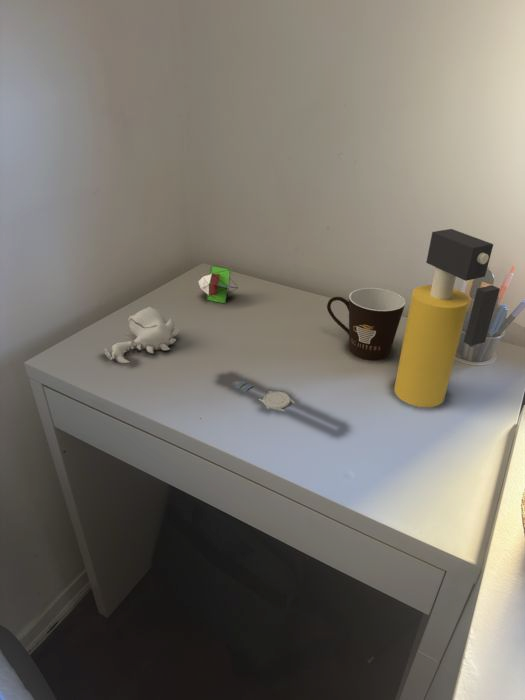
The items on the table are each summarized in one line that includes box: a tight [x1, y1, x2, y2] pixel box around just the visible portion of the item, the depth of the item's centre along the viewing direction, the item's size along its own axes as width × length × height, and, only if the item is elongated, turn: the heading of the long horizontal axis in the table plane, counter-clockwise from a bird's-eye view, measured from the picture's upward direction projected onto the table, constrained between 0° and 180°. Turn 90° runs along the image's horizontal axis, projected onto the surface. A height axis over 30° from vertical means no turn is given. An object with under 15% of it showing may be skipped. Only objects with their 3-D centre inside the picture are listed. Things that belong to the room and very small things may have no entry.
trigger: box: [463, 284, 501, 347], centre depth 59 cm, size 2×1×7 cm, turn 117°
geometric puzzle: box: [197, 265, 239, 305], centre depth 98 cm, size 7×7×8 cm
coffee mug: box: [326, 287, 406, 362], centre depth 81 cm, size 12×9×10 cm
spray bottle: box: [393, 228, 494, 408], centre depth 65 cm, size 7×9×24 cm
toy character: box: [103, 306, 180, 364], centre depth 80 cm, size 6×9×12 cm
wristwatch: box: [234, 380, 296, 412], centre depth 69 cm, size 4×20×1 cm, turn 53°
